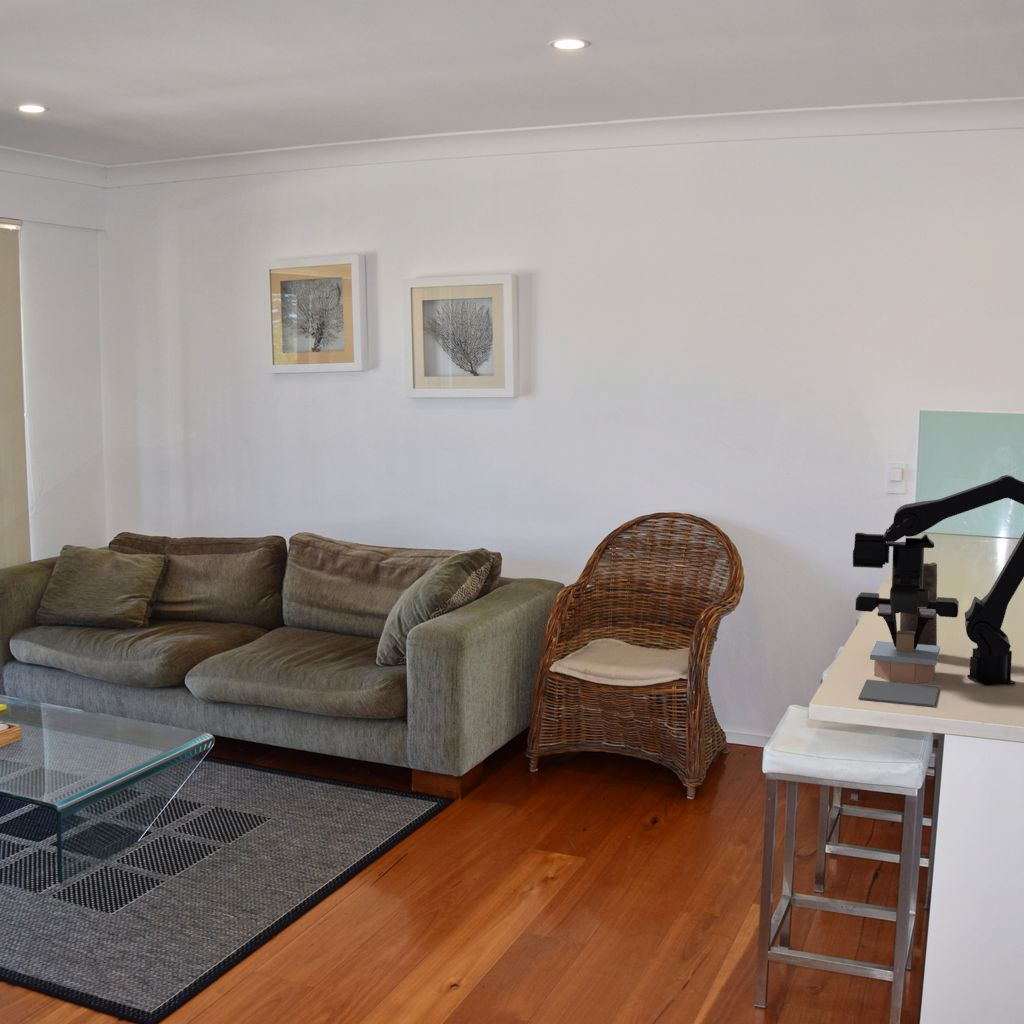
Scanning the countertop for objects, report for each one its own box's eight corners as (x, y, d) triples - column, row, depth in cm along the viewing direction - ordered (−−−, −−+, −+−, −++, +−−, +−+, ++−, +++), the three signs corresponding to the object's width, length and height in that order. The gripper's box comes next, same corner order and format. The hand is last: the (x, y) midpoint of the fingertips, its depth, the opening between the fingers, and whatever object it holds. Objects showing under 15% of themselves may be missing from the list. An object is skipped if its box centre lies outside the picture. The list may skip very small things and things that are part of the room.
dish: (878, 665, 226) (878, 646, 226) (936, 670, 222) (936, 651, 221) (872, 679, 216) (873, 659, 216) (932, 684, 212) (933, 664, 211)
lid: (876, 645, 227) (877, 624, 226) (939, 650, 222) (940, 628, 221) (870, 659, 216) (870, 636, 215) (936, 665, 211) (936, 642, 210)
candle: (891, 652, 237) (893, 559, 235) (919, 648, 240) (921, 557, 237) (915, 660, 230) (918, 565, 228) (944, 656, 233) (947, 562, 230)
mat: (866, 681, 215) (866, 679, 215) (938, 688, 210) (938, 686, 210) (858, 699, 203) (858, 697, 203) (934, 707, 198) (934, 704, 198)
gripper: (852, 573, 213) (851, 653, 215) (957, 579, 206) (954, 661, 207) (859, 564, 223) (858, 640, 225) (959, 569, 216) (957, 648, 218)
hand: (905, 647), depth 218 cm, fingers closed on lid, 3 cm apart
